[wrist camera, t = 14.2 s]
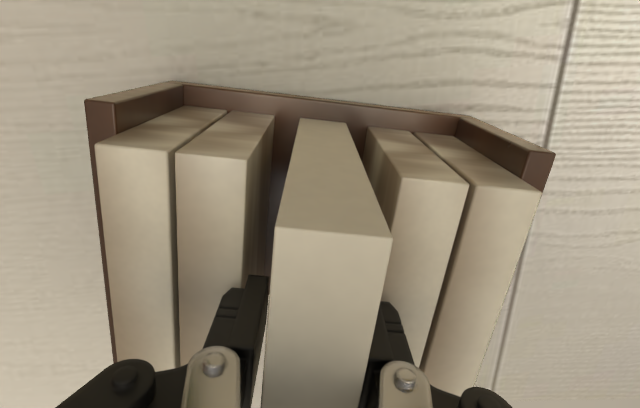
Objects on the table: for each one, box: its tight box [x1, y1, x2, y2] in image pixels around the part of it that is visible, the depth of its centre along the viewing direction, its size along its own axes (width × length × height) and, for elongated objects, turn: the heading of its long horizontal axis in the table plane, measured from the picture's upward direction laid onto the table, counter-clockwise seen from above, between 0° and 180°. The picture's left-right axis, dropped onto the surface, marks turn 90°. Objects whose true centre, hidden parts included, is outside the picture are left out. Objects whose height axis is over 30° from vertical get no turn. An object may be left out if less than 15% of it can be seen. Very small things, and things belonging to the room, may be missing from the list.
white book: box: [261, 118, 393, 408], centre depth 15 cm, size 2×10×13 cm, turn 174°
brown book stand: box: [84, 81, 556, 397], centre depth 18 cm, size 16×12×10 cm
